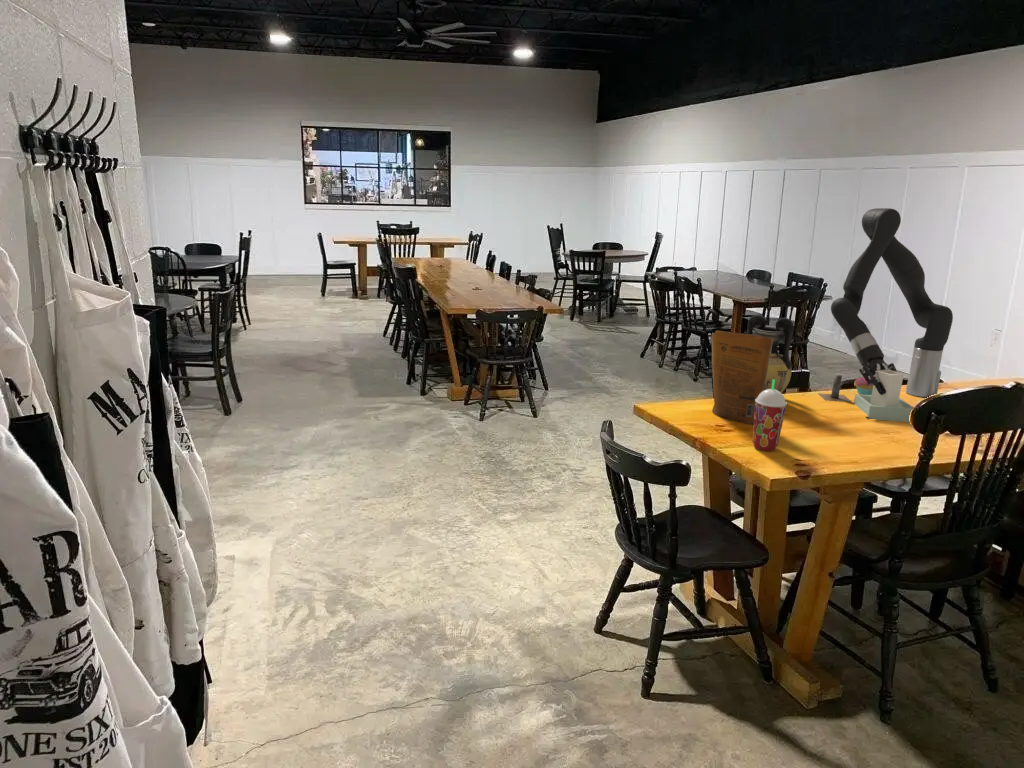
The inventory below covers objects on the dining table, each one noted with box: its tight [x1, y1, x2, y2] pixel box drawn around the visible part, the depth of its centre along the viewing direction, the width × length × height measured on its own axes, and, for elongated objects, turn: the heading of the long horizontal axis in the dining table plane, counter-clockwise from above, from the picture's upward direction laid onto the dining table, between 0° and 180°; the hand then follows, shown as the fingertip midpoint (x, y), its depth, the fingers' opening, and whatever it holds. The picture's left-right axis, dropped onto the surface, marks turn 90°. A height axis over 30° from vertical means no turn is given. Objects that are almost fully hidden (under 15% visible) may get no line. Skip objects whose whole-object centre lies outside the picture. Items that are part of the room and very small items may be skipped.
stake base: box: [817, 374, 853, 403], centre depth 254 cm, size 9×9×9 cm
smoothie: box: [752, 379, 788, 452], centre depth 203 cm, size 8×8×20 cm
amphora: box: [746, 314, 795, 394], centre depth 247 cm, size 18×17×30 cm
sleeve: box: [870, 370, 905, 407], centre depth 239 cm, size 6×6×12 cm
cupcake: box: [853, 376, 873, 395], centre depth 261 cm, size 9×8×12 cm
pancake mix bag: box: [710, 330, 773, 425], centre depth 227 cm, size 7×19×28 cm, turn 46°
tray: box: [853, 393, 915, 423], centre depth 241 cm, size 14×14×4 cm
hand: (890, 392), depth 238 cm, fingers closed on sleeve, 5 cm apart
